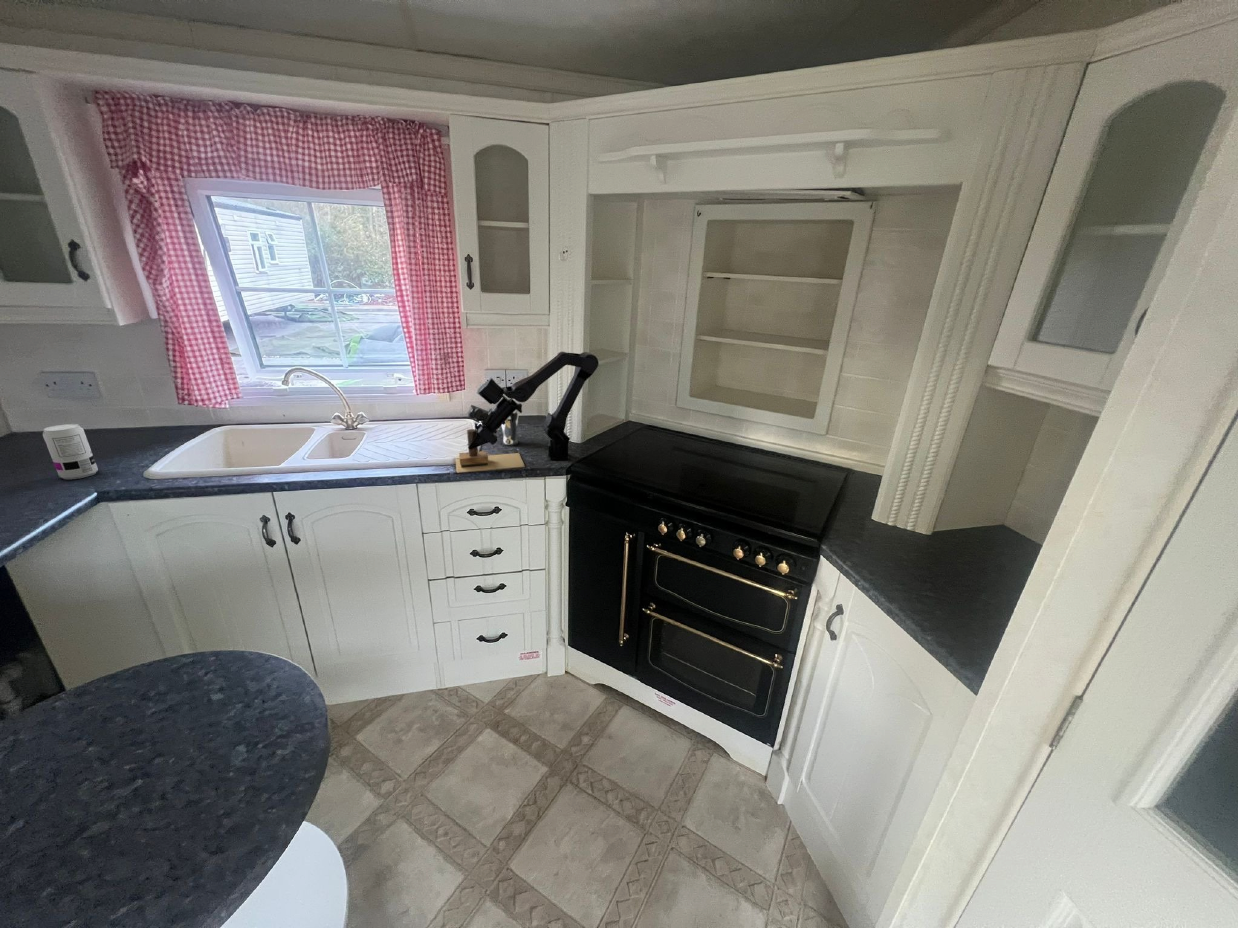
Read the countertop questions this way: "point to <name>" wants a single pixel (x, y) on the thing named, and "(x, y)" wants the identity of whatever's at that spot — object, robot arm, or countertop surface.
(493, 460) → the cork mat
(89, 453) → the supplement can
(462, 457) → the wooden rubber stamp
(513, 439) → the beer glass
